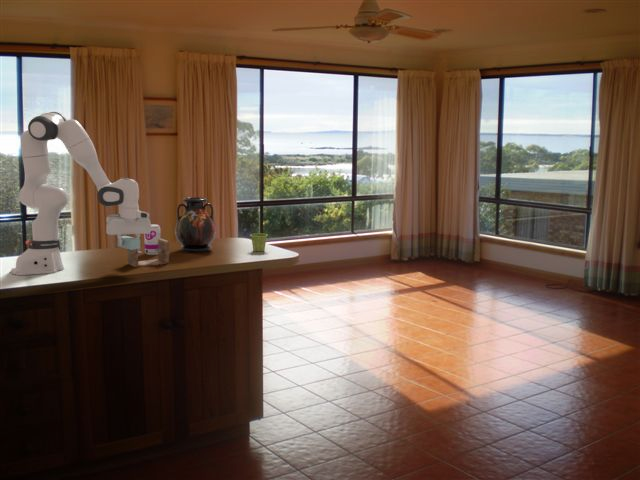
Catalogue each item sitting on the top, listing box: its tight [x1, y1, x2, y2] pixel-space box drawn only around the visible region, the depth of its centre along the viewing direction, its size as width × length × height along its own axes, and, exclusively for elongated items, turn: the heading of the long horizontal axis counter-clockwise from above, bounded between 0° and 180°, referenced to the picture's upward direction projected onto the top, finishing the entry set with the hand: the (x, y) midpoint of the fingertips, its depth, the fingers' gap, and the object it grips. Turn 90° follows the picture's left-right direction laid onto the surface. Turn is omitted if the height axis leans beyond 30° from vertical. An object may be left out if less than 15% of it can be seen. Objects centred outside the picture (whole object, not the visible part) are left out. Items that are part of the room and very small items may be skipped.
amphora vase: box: [174, 196, 217, 254], centre depth 369 cm, size 22×22×28 cm
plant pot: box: [249, 233, 268, 252], centre depth 371 cm, size 9×9×9 cm
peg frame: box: [127, 238, 170, 268], centre depth 333 cm, size 17×9×11 cm, turn 126°
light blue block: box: [117, 235, 141, 250], centre depth 316 cm, size 5×12×4 cm, turn 44°
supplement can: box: [143, 223, 162, 256], centre depth 359 cm, size 8×8×15 cm
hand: (128, 244), depth 316 cm, fingers closed on light blue block, 5 cm apart
